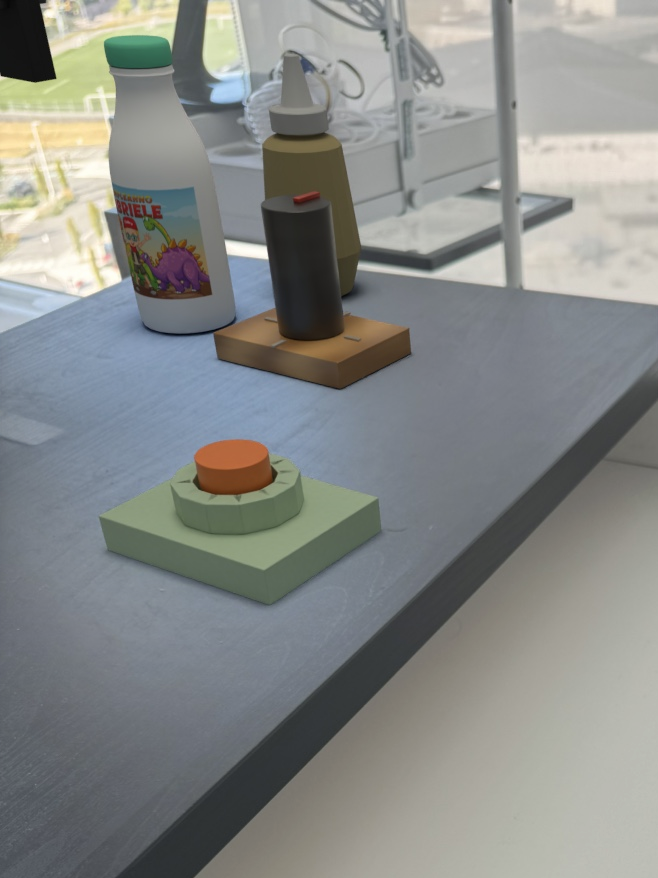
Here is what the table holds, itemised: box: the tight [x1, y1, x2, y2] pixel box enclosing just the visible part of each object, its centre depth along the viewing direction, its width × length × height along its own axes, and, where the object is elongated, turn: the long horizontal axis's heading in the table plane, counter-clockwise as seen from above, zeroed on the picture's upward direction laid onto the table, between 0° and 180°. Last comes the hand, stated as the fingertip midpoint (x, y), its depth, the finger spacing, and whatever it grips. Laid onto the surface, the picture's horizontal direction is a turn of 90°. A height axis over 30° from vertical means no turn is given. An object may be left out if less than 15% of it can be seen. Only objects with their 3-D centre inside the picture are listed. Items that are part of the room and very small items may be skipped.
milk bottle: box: [103, 34, 237, 334], centre depth 91 cm, size 8×8×20 cm
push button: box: [193, 438, 273, 495], centre depth 65 cm, size 4×4×2 cm
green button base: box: [98, 452, 383, 606], centre depth 67 cm, size 12×10×4 cm
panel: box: [212, 307, 412, 390], centre depth 91 cm, size 12×9×2 cm
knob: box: [260, 191, 345, 340], centre depth 87 cm, size 5×5×9 cm
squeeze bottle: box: [261, 53, 362, 297], centre depth 98 cm, size 8×8×18 cm
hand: (28, 77), depth 64 cm, fingers closed
